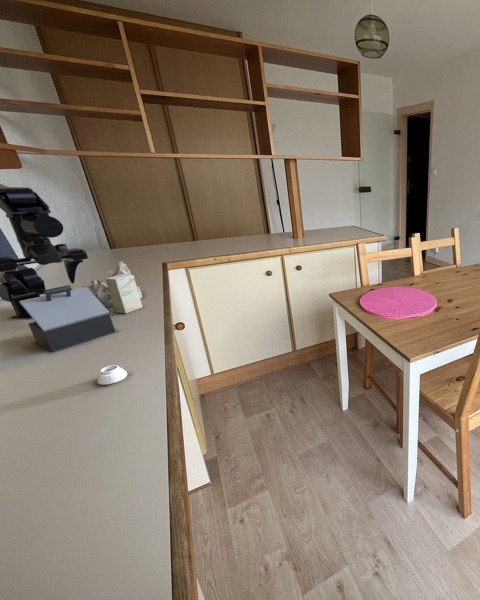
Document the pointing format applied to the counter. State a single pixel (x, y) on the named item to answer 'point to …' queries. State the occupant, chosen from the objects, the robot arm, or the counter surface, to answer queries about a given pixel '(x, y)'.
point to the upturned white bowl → (111, 375)
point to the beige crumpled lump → (101, 287)
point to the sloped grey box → (72, 332)
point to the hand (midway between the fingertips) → (52, 287)
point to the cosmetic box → (124, 293)
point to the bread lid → (63, 307)
